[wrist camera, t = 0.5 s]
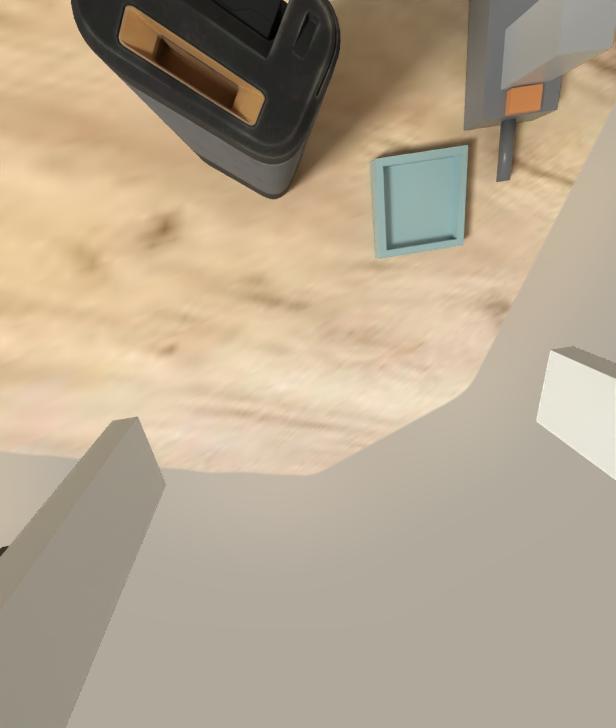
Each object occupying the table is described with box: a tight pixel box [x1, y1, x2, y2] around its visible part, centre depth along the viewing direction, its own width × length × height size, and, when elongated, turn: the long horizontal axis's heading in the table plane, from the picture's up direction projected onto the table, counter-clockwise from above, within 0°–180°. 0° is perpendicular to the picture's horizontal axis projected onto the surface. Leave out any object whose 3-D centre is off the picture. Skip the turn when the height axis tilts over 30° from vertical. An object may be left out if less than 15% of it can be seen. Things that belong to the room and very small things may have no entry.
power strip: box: [464, 0, 616, 182], centre depth 24 cm, size 23×7×9 cm, turn 8°
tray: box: [370, 145, 468, 259], centre depth 32 cm, size 9×9×2 cm
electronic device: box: [71, 0, 340, 199], centre depth 21 cm, size 9×6×20 cm, turn 63°
